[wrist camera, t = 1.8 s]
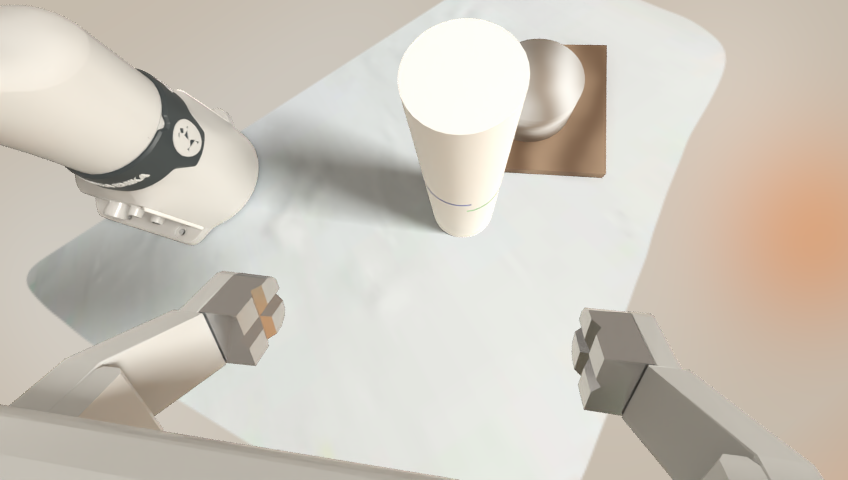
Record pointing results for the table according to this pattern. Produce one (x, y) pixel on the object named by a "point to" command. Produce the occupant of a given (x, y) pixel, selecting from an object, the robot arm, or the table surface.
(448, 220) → the cylindrical container
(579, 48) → the base
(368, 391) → the table surface
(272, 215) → the table surface
